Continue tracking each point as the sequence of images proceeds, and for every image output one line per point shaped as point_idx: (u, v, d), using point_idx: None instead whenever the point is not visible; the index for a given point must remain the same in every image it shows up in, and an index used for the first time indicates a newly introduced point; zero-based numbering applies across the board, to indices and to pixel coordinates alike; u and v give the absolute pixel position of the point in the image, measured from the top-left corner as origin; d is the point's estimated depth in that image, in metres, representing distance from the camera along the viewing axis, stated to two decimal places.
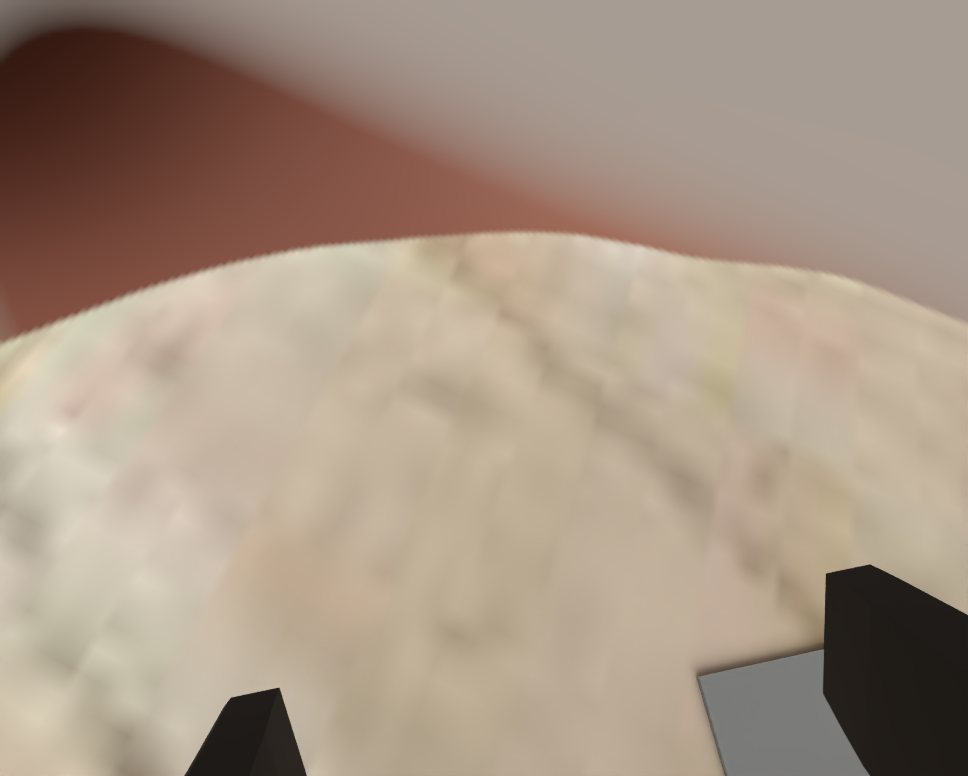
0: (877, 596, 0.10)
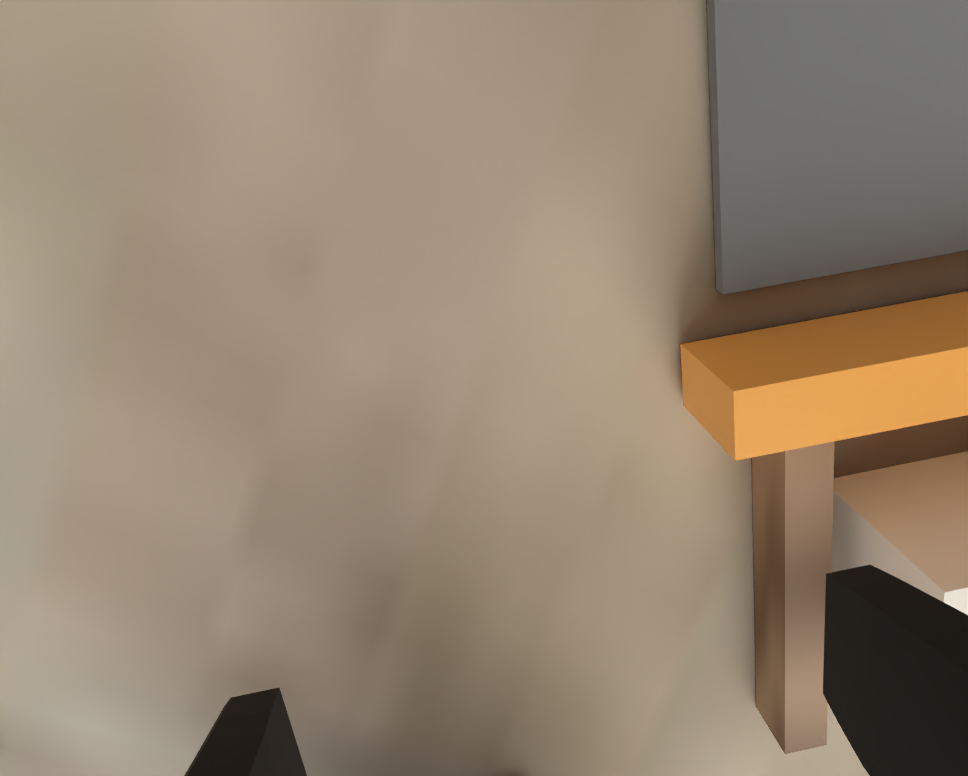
0: (877, 596, 0.10)
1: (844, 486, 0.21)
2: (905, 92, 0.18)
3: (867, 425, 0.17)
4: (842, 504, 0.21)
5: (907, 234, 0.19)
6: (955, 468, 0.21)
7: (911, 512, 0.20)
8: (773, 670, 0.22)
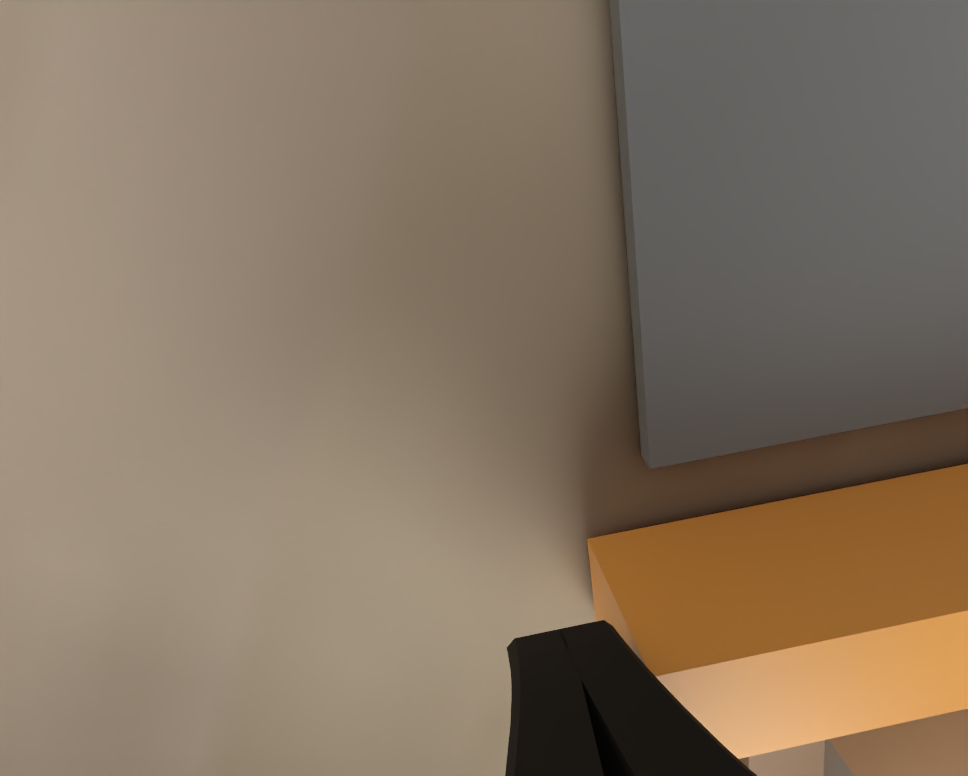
0: (585, 658, 0.09)
1: None
2: (945, 154, 0.11)
3: (881, 714, 0.10)
4: (838, 759, 0.14)
5: (943, 373, 0.12)
6: None
7: None
8: None
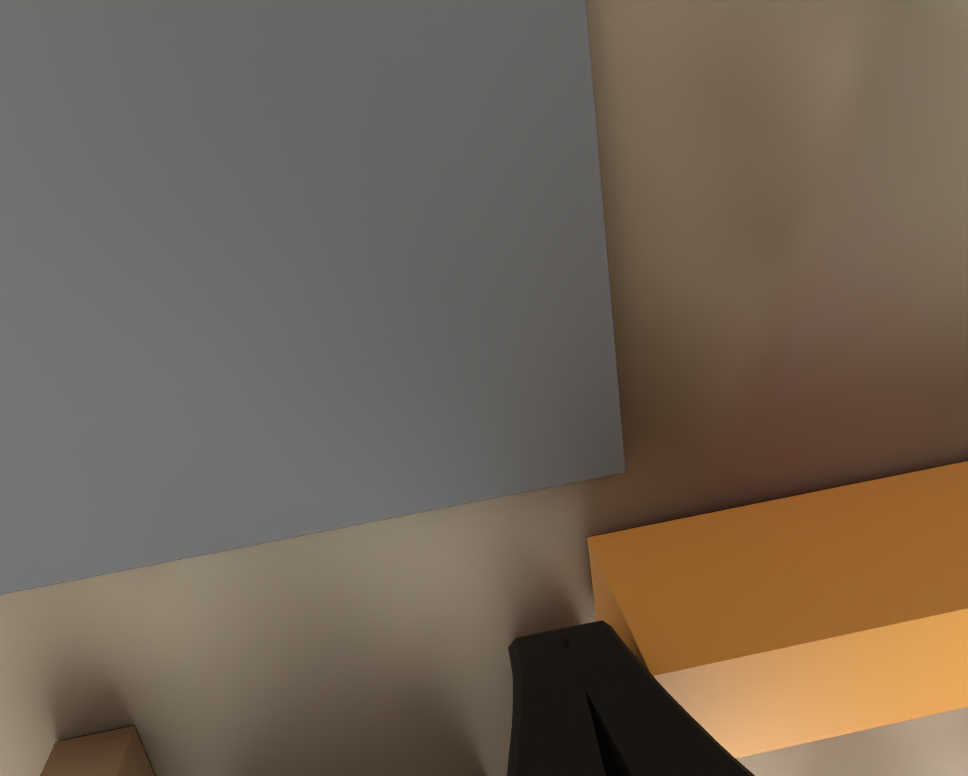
0: (584, 658, 0.09)
1: None
2: (136, 289, 0.10)
3: (882, 712, 0.10)
4: None
5: (226, 508, 0.11)
6: None
7: None
8: None
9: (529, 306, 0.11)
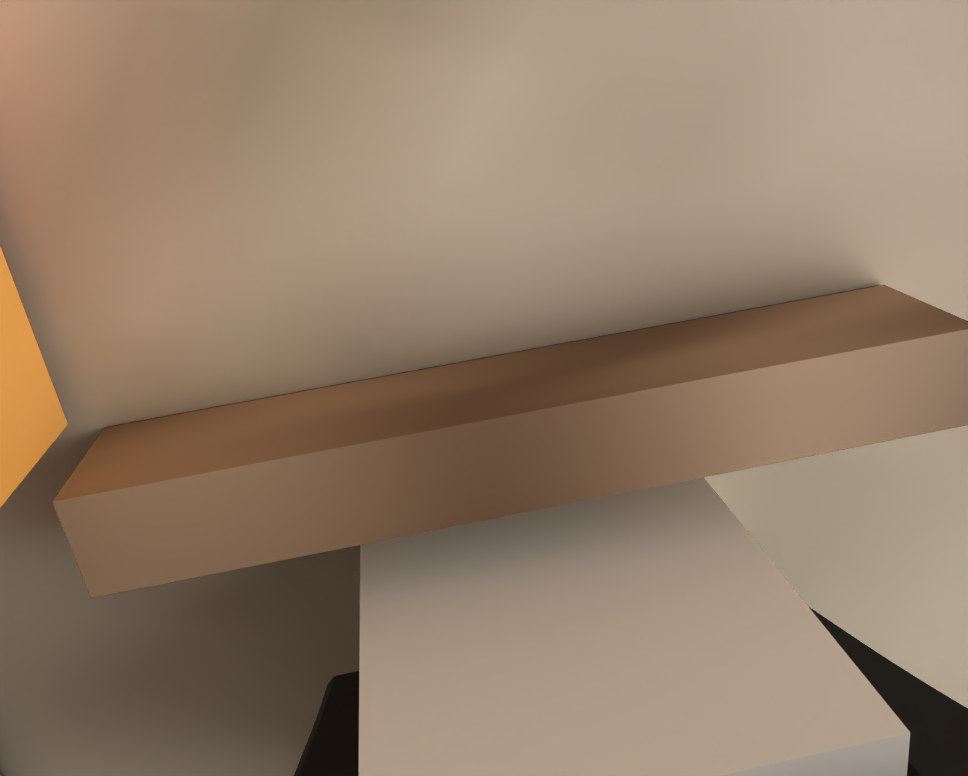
0: None
1: None
2: None
3: None
4: None
5: None
6: None
7: None
8: None
9: None
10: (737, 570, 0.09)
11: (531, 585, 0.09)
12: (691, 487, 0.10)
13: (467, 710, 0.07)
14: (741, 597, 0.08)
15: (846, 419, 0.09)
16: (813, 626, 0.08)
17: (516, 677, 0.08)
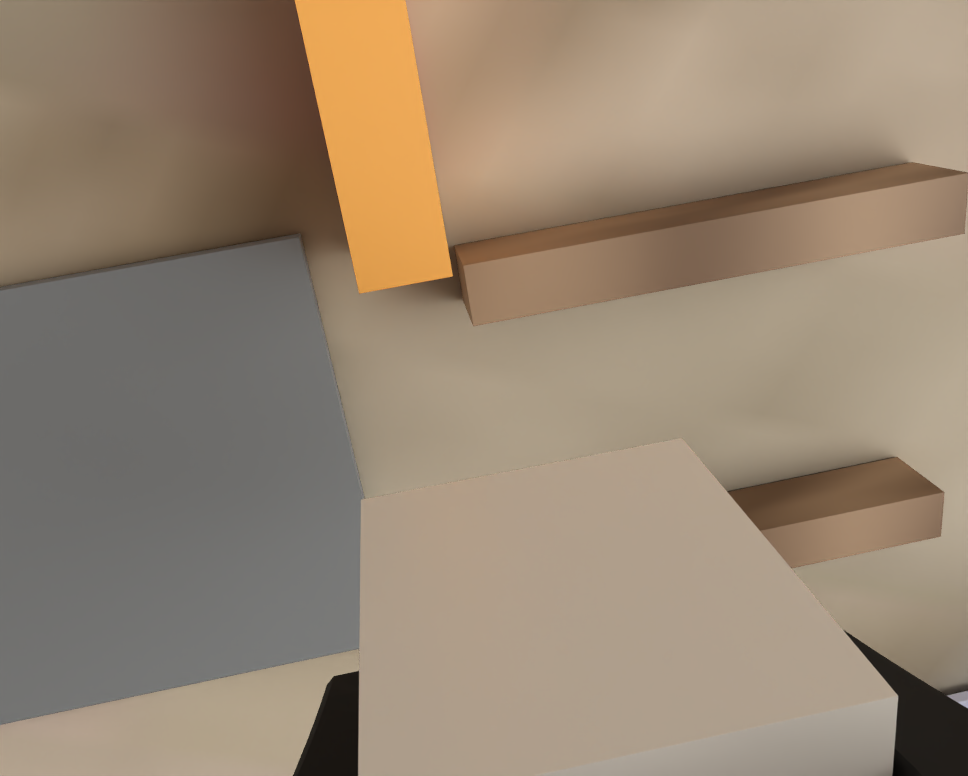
0: None
1: None
2: (190, 525, 0.18)
3: (407, 98, 0.13)
4: None
5: (329, 488, 0.18)
6: None
7: None
8: None
9: (176, 314, 0.16)
10: (731, 546, 0.09)
11: (529, 560, 0.09)
12: (686, 467, 0.11)
13: (464, 678, 0.08)
14: (735, 569, 0.09)
15: (893, 228, 0.16)
16: (805, 597, 0.08)
17: (513, 647, 0.08)
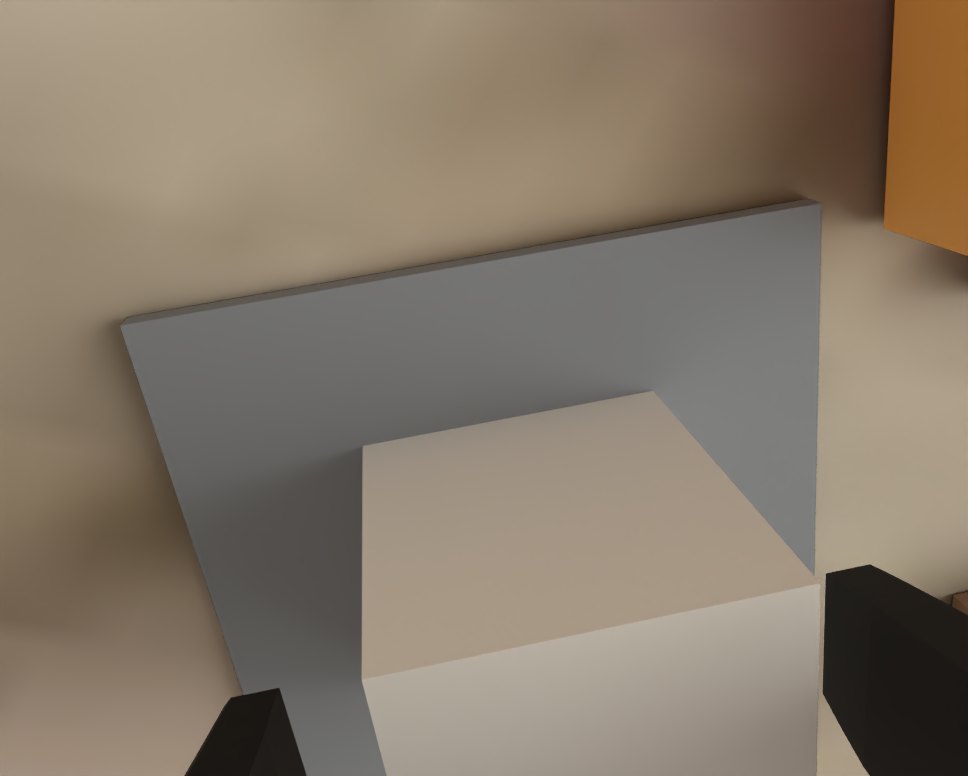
0: (877, 596, 0.10)
1: None
2: None
3: None
4: None
5: (779, 535, 0.14)
6: None
7: None
8: None
9: (644, 307, 0.12)
10: (690, 475, 0.10)
11: (512, 491, 0.10)
12: (655, 415, 0.12)
13: (453, 580, 0.09)
14: (690, 493, 0.10)
15: None
16: (750, 513, 0.09)
17: (496, 556, 0.09)
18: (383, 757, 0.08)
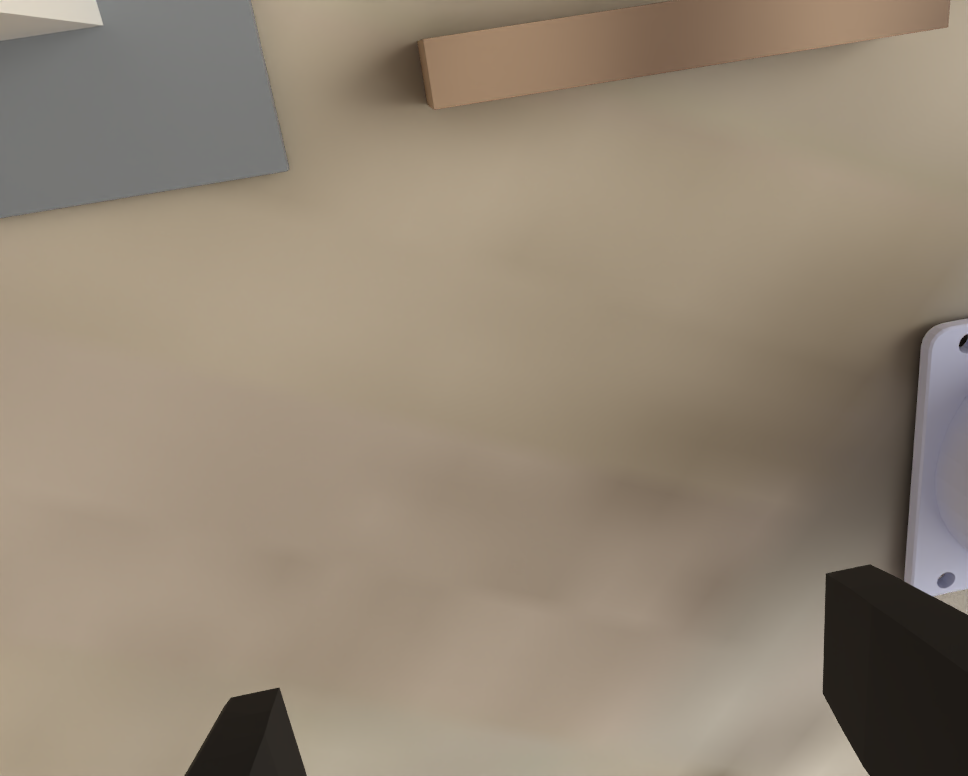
0: (877, 596, 0.10)
1: None
2: None
3: None
4: None
5: None
6: None
7: None
8: None
9: None
10: None
11: None
12: None
13: None
14: None
15: None
16: None
17: None
18: None
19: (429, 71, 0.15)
